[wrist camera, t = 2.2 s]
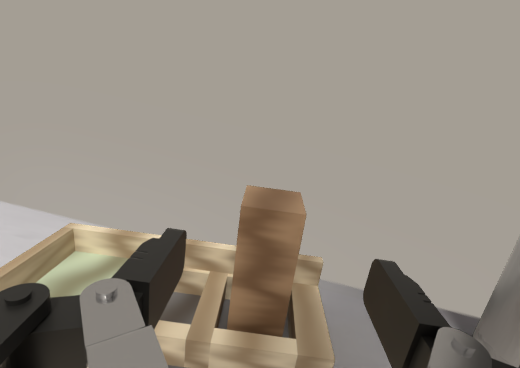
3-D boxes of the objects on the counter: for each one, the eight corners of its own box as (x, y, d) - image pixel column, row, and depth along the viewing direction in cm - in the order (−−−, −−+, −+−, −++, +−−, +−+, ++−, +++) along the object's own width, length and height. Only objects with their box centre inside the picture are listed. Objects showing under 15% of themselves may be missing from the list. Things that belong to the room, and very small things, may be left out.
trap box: (311, 304, 33) (321, 257, 31) (326, 390, 23) (343, 330, 21) (74, 271, 33) (70, 222, 31) (-6, 344, 23) (-20, 280, 21)
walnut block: (278, 312, 30) (300, 192, 26) (278, 353, 26) (306, 214, 21) (232, 306, 30) (246, 185, 26) (224, 346, 26) (241, 205, 21)
